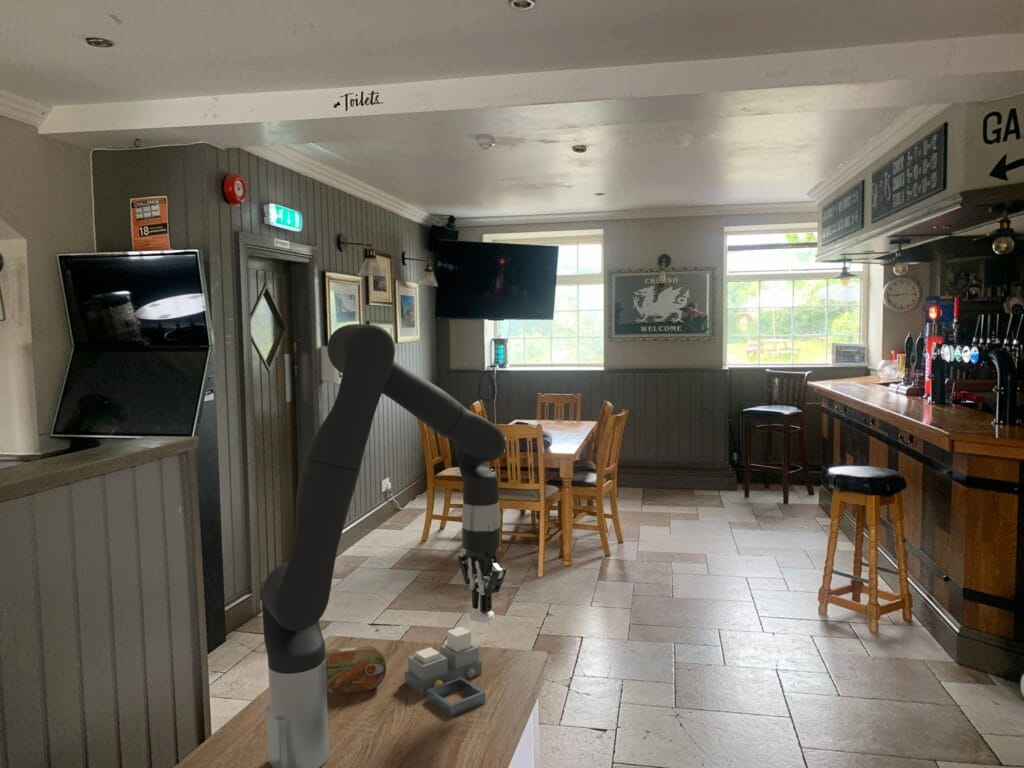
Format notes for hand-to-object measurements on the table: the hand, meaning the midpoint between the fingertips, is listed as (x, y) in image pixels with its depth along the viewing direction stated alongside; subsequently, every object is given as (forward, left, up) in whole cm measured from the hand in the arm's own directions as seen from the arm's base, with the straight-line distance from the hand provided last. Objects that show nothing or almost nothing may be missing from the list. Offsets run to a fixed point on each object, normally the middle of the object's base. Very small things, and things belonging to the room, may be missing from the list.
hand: (481, 609), depth 142 cm
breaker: (+1, +9, -11) cm, 15 cm away
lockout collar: (-7, 0, -17) cm, 18 cm away
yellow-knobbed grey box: (-3, +9, -17) cm, 19 cm away
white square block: (-7, +9, -13) cm, 18 cm away
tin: (-21, +18, -17) cm, 32 cm away
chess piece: (0, 0, -2) cm, 2 cm away
